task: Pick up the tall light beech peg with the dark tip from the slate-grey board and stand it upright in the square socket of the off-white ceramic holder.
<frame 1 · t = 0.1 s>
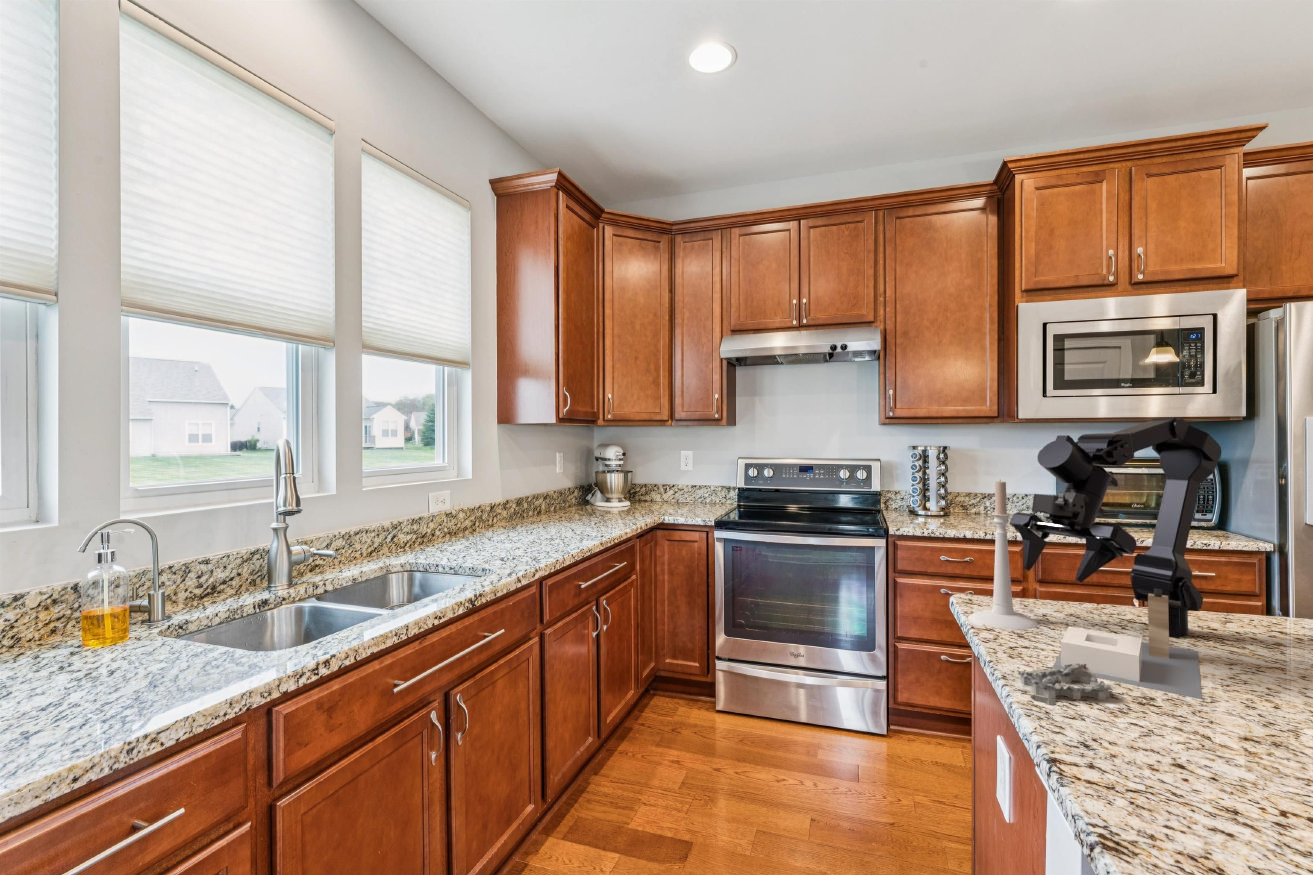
hand: (1051, 575, 102), 15 cm above the countertop, tool tilted 30°, fingers open, 9 cm apart
peg: (1159, 654, 101), point 1 cm above the countertop, touching board
candlestick: (1003, 625, 121), on the countertop
egg carton: (1064, 699, 88), on the countertop
holder: (1101, 663, 97), resting on board
board: (1127, 665, 99), on the countertop
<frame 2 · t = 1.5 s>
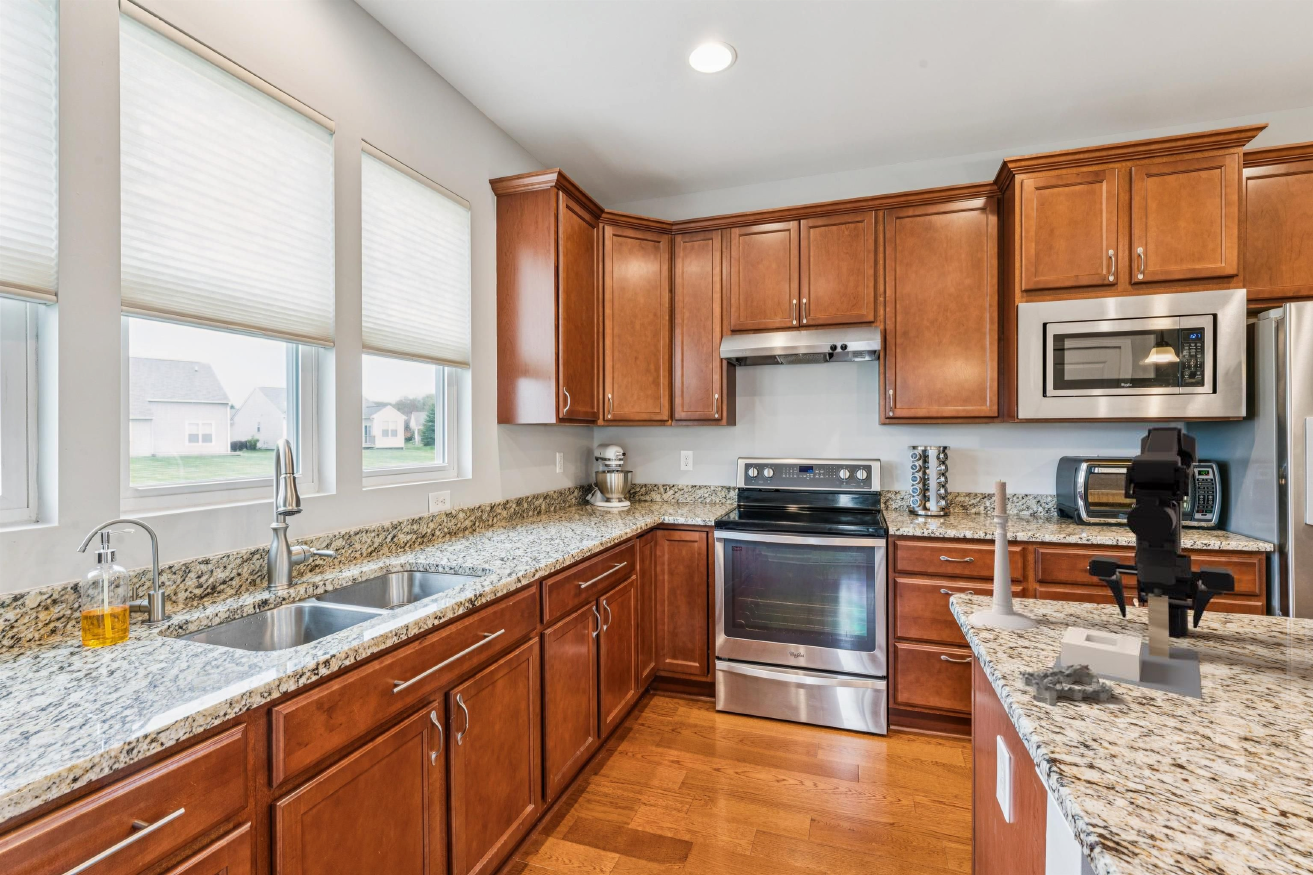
hand: (1158, 622, 101), 6 cm above the countertop, tool pointing down, fingers open, 9 cm apart
nothing on the countertop moved.
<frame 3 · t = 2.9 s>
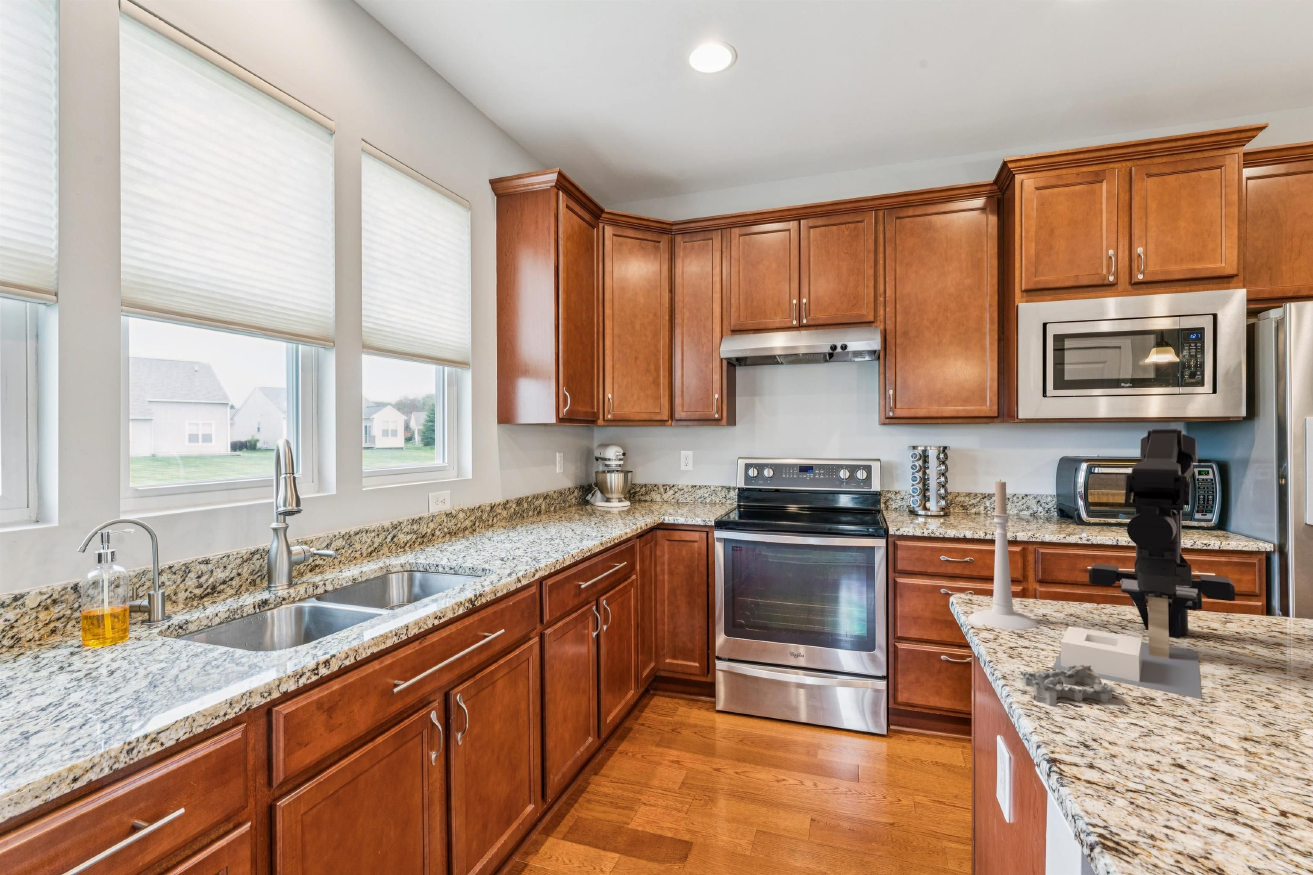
hand: (1158, 631, 101), 5 cm above the countertop, tool pointing down, fingers closed on peg, 3 cm apart
peg: (1159, 654, 101), point 1 cm above the countertop, touching board, gripper
everything else where it was.
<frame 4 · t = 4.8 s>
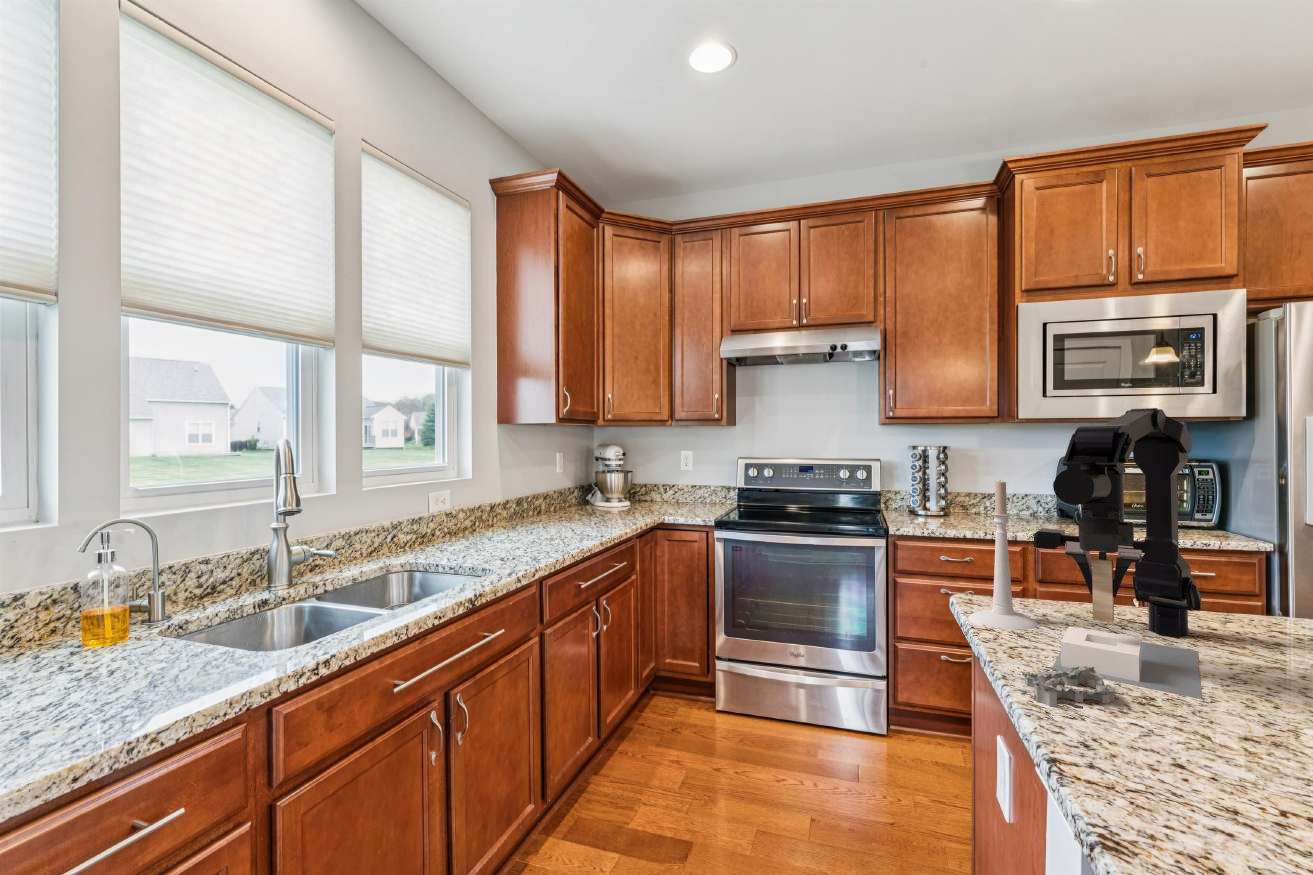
hand: (1103, 595, 97), 12 cm above the countertop, tool pointing down, fingers closed on peg, 3 cm apart
peg: (1103, 619, 97), point 8 cm above the countertop, touching gripper
everything else where it was.
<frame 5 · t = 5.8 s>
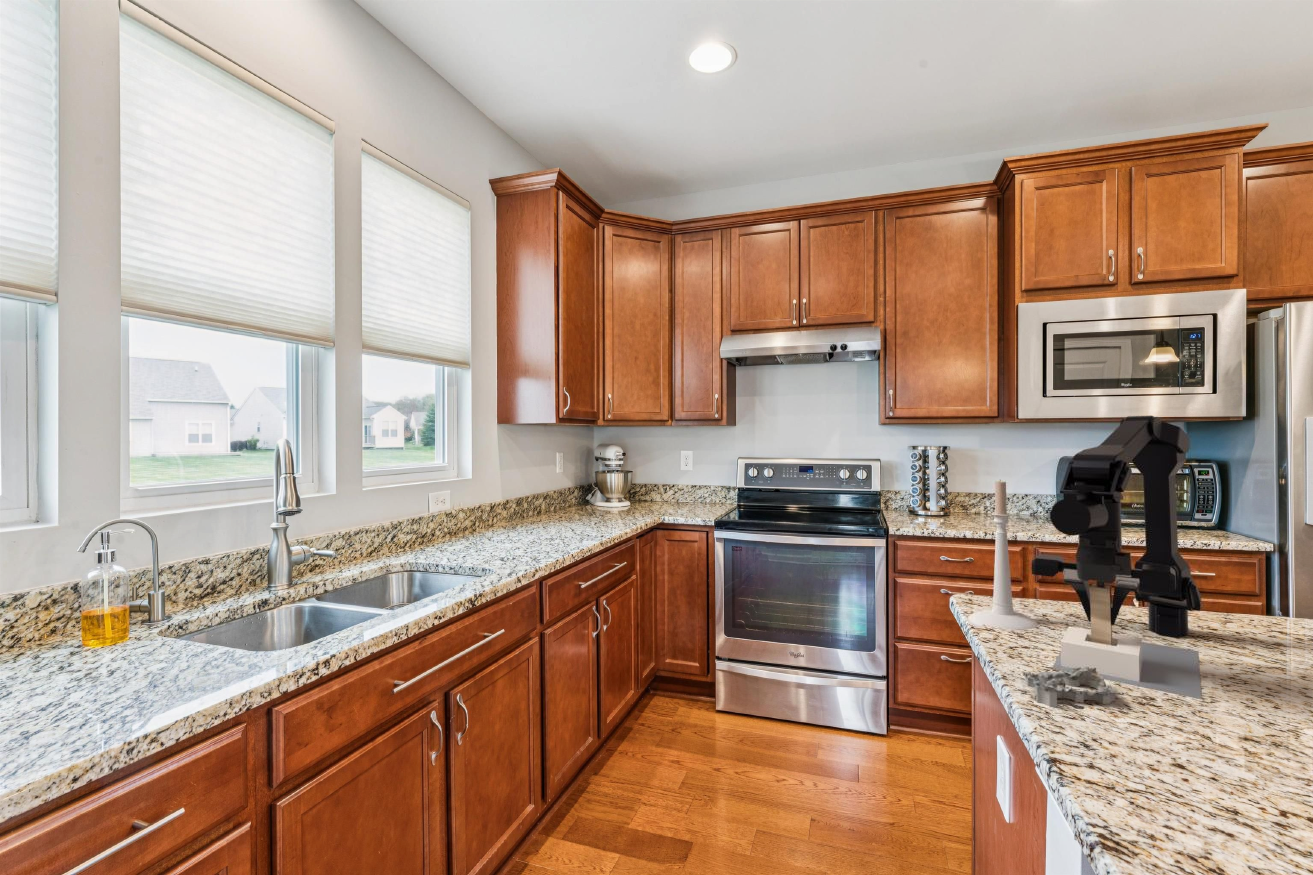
hand: (1101, 622, 97), 8 cm above the countertop, tool pointing down, fingers closed on peg, 3 cm apart
peg: (1101, 646, 97), point 4 cm above the countertop, touching gripper
when the fingers open (7 cm above the countertop, at t = 6.6 s): peg drops 2 cm, resting on board.
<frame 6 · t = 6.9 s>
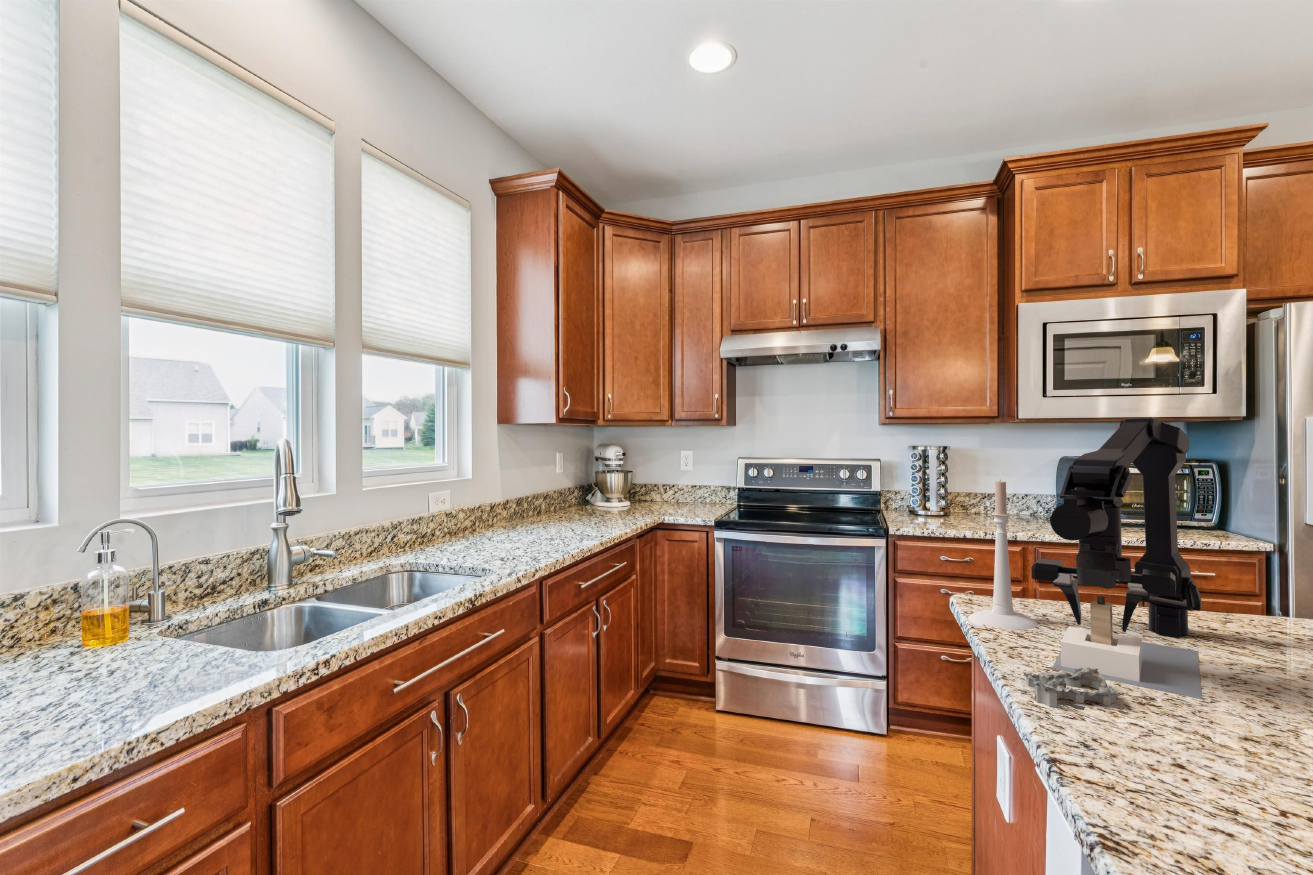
hand: (1101, 627, 97), 7 cm above the countertop, tool pointing down, fingers open, 6 cm apart
peg: (1102, 664, 97), point 1 cm above the countertop, touching board
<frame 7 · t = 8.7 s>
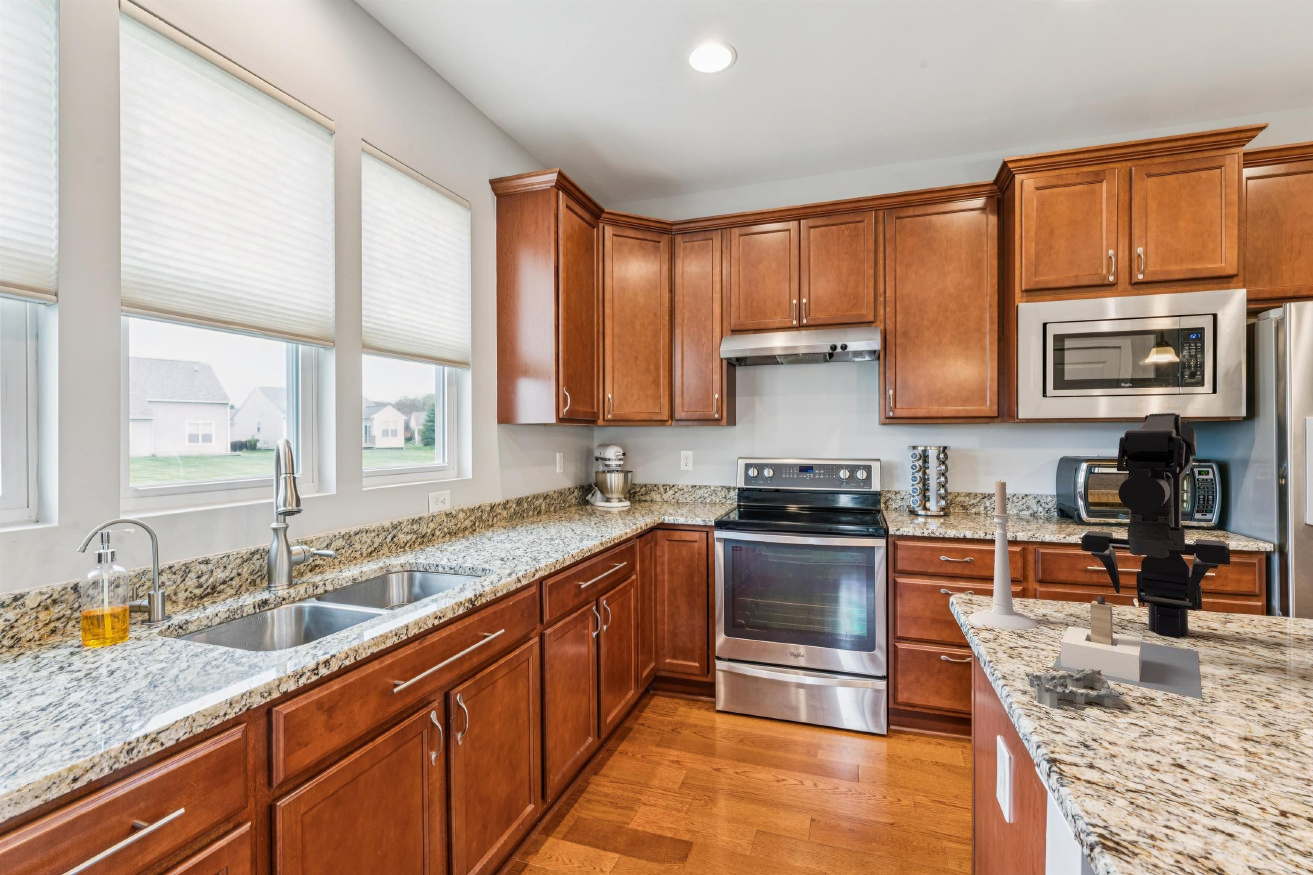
hand: (1152, 597, 99), 12 cm above the countertop, tool pointing down, fingers open, 9 cm apart
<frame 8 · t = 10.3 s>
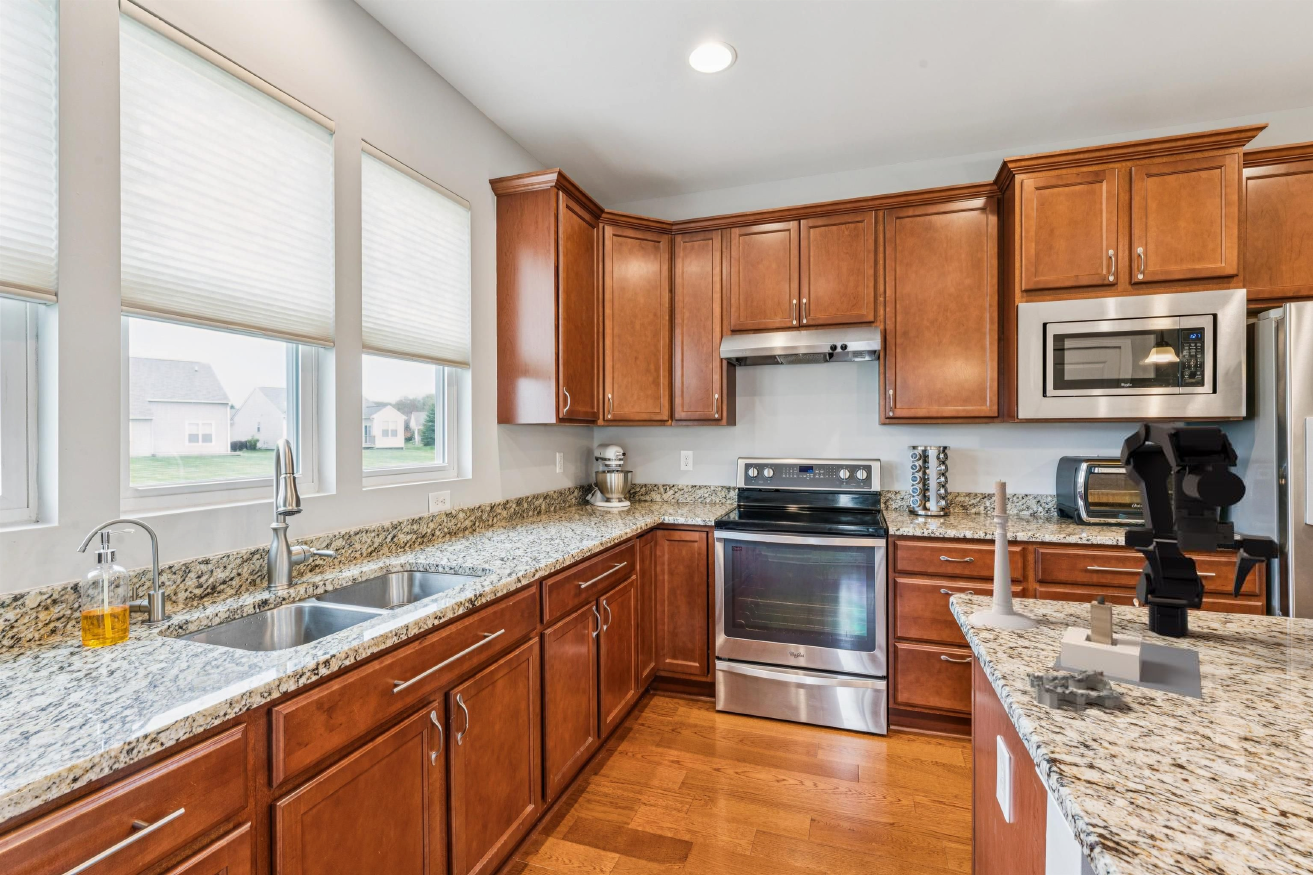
hand: (1197, 592, 99), 12 cm above the countertop, tool pointing down, fingers open, 9 cm apart
at the end: peg 0.1 cm off-centre on the holder, point 0.0 cm above the holder's base; peg tilted 0°; the gripper is holding nothing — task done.
